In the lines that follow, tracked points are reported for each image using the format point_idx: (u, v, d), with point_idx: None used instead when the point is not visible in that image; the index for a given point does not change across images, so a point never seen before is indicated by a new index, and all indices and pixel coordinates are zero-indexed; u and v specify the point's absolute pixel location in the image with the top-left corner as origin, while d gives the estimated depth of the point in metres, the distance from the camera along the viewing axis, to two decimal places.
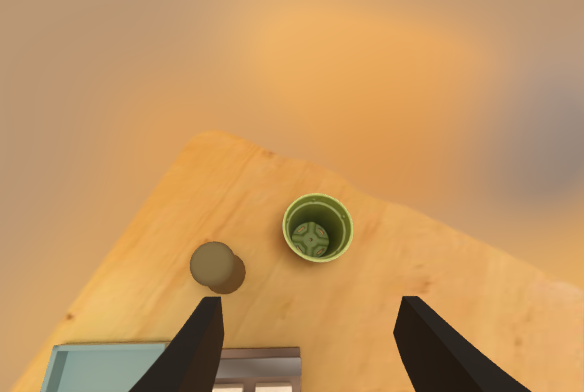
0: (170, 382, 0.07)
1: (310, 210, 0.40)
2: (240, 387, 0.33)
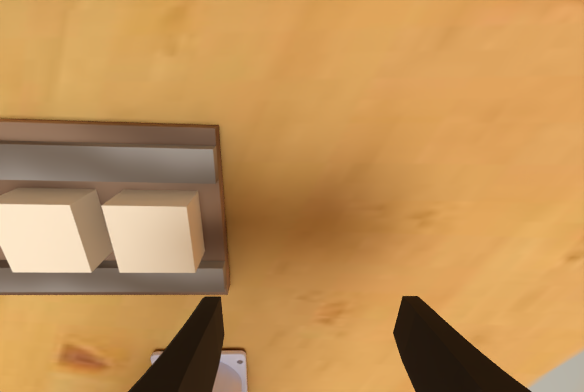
0: (170, 381, 0.07)
1: None
2: (68, 203, 0.14)
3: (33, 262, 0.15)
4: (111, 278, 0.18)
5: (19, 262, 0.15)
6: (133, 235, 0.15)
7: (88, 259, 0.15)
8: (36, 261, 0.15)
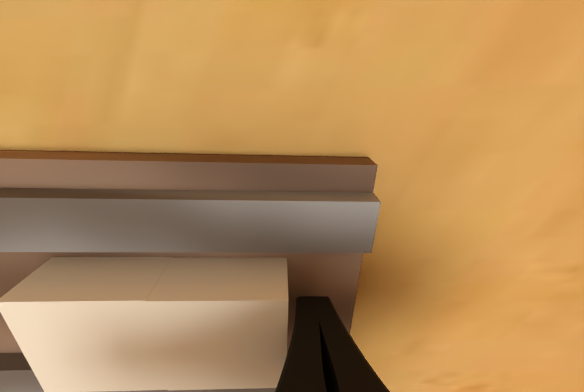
0: (313, 379, 0.07)
1: None
2: (141, 294, 0.08)
3: (78, 379, 0.10)
4: None
5: (56, 380, 0.10)
6: (195, 342, 0.09)
7: None
8: (83, 378, 0.10)
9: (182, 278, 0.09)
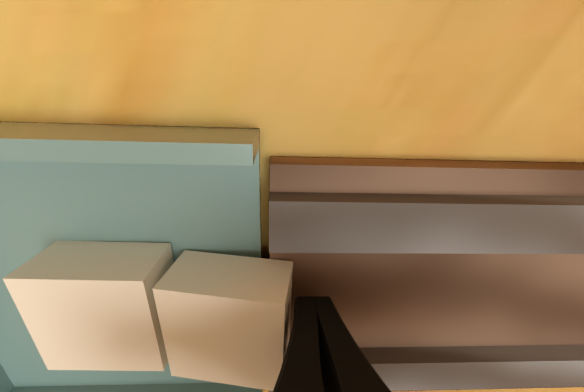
0: (311, 379, 0.07)
1: None
2: (139, 275, 0.09)
3: (79, 357, 0.10)
4: (474, 374, 0.13)
5: (58, 357, 0.10)
6: (195, 333, 0.09)
7: (161, 354, 0.10)
8: (83, 356, 0.10)
9: (189, 271, 0.10)
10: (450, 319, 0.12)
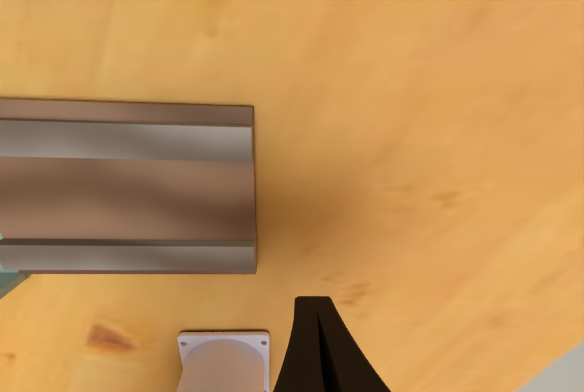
0: (311, 379, 0.07)
1: None
2: None
3: None
4: (145, 256, 0.18)
5: None
6: None
7: None
8: None
9: None
10: (122, 216, 0.18)
